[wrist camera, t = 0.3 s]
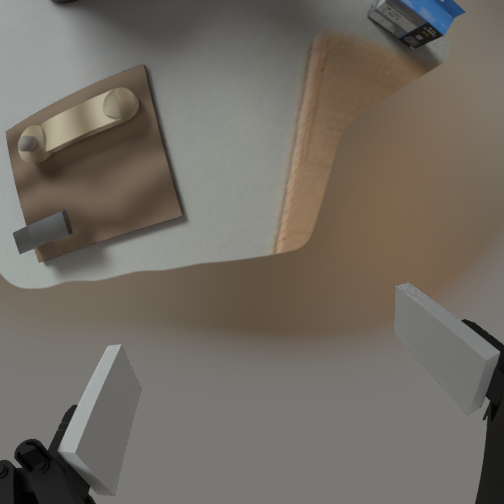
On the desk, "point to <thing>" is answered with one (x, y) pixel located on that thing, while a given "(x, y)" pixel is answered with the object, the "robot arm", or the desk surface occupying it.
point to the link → (77, 124)
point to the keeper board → (94, 177)
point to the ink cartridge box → (415, 19)
